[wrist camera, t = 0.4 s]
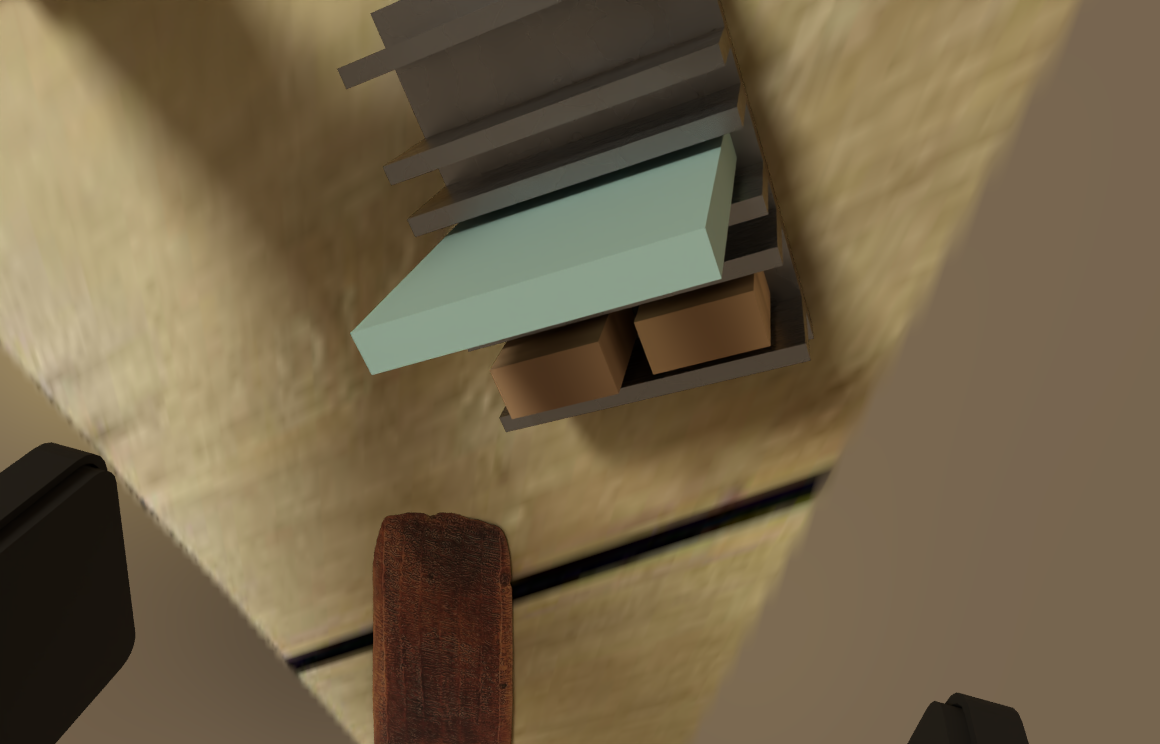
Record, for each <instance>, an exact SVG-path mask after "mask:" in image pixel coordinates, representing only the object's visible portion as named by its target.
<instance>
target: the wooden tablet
mask: <svg viewBox="0 0 1160 744" xmlns="http://www.w3.org/2000/svg"><path fill="white" fill-rule="evenodd" d="M510 581H511V569H510V556H509V549H508V545H507V542H506V538H505V535H504V533H503V532H502V530H501V529H500V528H499V527H497V526H494V525H490V524H487V523H485V522H482V521H480V520H473V519H468V518H466V517H463V516H461V515H458V514H454V513H437V514H436V515H432V516H429V515H426V514H424V513H404V514H400V515H391V516H387V517H385V519H384V520H383V522H382V525H381V528H380V531H379V536H378V538H377V543H376V547H375V552H374V561H373V622H374V624H373V631H374V632H373V718H374V743H375V744H511V729H512V708H513V698H512V674H513V636H512V587H511V585H510Z"/></svg>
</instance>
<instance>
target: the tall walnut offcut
mask: <svg viewBox="0 0 1160 744" xmlns="http://www.w3.org/2000/svg"><path fill="white" fill-rule="evenodd" d="M634 321H635V316H634V313H633V310H632V308H631V307H630V308H626V309H623V310H619V311H615V312H612V313H608V314H604V315H601V316H597V317H593V318H590V319H586V320H583V321H579V322H575V323H572V324H568V325H564V326H561V327H557V328H553V329H550V330H546V331H542V332H539V333H535V334H531V335H528V336H524V337H521V338H517V339H513V340H510V341H507V342H506V344H505V345H504V347H503V349H502V350H501V352H500V354H499V355H498V357H497V359H496V360H495V362H494V364H493V365H492V367H491V369H490V372H491V375H492V377H493V379H494V381H495V383H496V386H497V388H498V390H499V392H500V394H501V396H502V399H503V401H504V403H505V405H506V407H507V410H508V412H509V414H510V416H511V418H512V419H515V418H520V417H524V416H528V415H532V414H536V413H540V412H544V411H549V410H553V409H557V408H561V407H565V406H569V405H574V404H578V403H582V402H586V401H590V400H594V399H599V398H603V397H607V396H611V395H615V394H619V392H620V388H621V385H622V382H623V379H624V375H625V372H626V369H627V366H628V362H629V359H630V356H631V353H632V349H633V346H634V343H635V340H636V336H637V333H638V332H637V330H636V327H635V324H634Z"/></svg>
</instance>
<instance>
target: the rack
mask: <svg viewBox="0 0 1160 744" xmlns="http://www.w3.org/2000/svg"><path fill="white" fill-rule="evenodd" d="M370 14H371V16H372V18H373V20H374V23H375V25H376V27H377V29H378V32H379V34H380V36H381V39H382V41H383V43H384V45H385V48H386V49H383V50H381V51H379V52H376V53H374V54H372V55H369V56H367V57H364V58H362V59H360V60H357V61H355V62H353V63H350V64H348V65H345V66H343V67H341V68H338V69H337V70H338V72H339V74H340V76H341V78H342V80H343V83H344V85H345V87H346V89H348V88H351V87H353V86H356V85H358V84H361V83H363V82H366V81H368V80H370V79H373V78H375V77H378V76H380V75H383V74H385V73H388V72H390V71H392V70H396V73H397V75H398V77H399V80H400V82H401V84H402V86H403V89H404V91H405V93H406V95H407V98H408V100H409V102H410V105H411V107H412V109H413V111H414V114H415V116H416V118H417V121H418V123H419V125H420V127H421V130H422V132H423V134H424V136H425V139H424V140H422V141H421V142H419V143H418V144H416V145H415V146H413V147H412V148H410V149H409V150H407V151H406V152H404V153H403V154H401V155H400V156H398V157H397V158H395V159H394V160H392V161H391V162H389V163H388V164H386V165H385V166H383V169H384V171H385V173H386V175H387V177H388V179H389V182H390V184H391V185H394V184H397V183H400V182H402V181H405V180H408V179H411V178H413V177H416V176H419V175H422V174H425V173H427V172H430V171H433V170H436V169H439V171H440V173H441V175H442V177H443V180H444V182H445V184H446V186H445V187H444V188H443V189H442V190H441V191H440V192H438V193H437V194H436V195H435V196H434V197H433V198H431V199H430V200H429V201H428V202H427V203H426V204H424V205H423V206H422V207H421V208H420V209H419V210H417V211H416V212H415V213H414V214H413V215H412V216H410V217H409V218H408V219H407V220H408V222H409V225H410V227H411V229H412V231H413V233H414V235H415V237H417V236H420V235H423V234H426V233H429V232H432V231H435V230H438V229H441V228H444V227H447V226H450V225H453V224H456V223H459V222H462V221H465V220H468V219H471V218H474V217H477V216H480V215H483V214H486V213H489V212H492V211H495V210H498V209H501V208H504V207H507V206H510V205H513V204H516V203H519V202H522V201H526V200H529V199H532V198H535V197H538V196H541V195H544V194H547V193H550V192H553V191H556V190H559V189H562V188H565V187H568V186H571V185H574V184H577V183H580V182H583V181H586V180H589V179H592V178H595V177H598V176H601V175H604V174H607V173H610V172H613V171H616V170H619V169H622V168H625V167H628V166H631V165H634V164H637V163H640V162H643V161H646V160H649V159H652V158H655V157H658V156H661V155H664V154H667V153H670V152H673V151H676V150H679V149H682V148H685V147H688V146H691V145H694V144H697V143H700V142H703V141H706V140H710V139H713V138H716V137H719V136H722V135H725V134H728V133H730V136H731V139H732V143H733V146H734V149H735V153H736V156H737V161H736V169H735V177H734V185H733V193H732V200H731V208H730V216H729V224H728V232H727V240H726V248H725V256H724V264H723V271H722V279H719V280H715V281H712V282H708V283H704V284H701V285H697V286H694V287H690V288H686V289H683V290H679V291H675V292H672V293H668V294H665V295H661V296H657V297H654V298H650V299H646V300H643V301H639V302H636V303H632V304H628V305H625V306H621V307H617V308H614V309H610V310H607V311H603V312H599V313H596V314H592V315H588V316H585V317H581V318H577V319H574V320H570V321H567V322H563V323H559V324H556V325H552V326H548V327H545V328H541V329H538V330H534V331H530V332H527V333H523V334H519V335H516V336H512V337H509V338H505V339H501V340H498V341H494V342H490V343H487V344H483V345H480V346H476V347H472V348H469V349H468V351H473V350H477V349H480V348H484V347H488V346H491V345H495V344H499V343H502V342H506V341H510V340H513V339H517V338H521V337H524V336H528V335H531V334H535V333H539V332H542V331H546V330H550V329H553V328H557V327H561V326H564V325H568V324H572V323H575V322H579V321H583V320H586V319H590V318H593V317H597V316H601V315H604V314H608V313H612V312H615V311H619V310H623V309H626V308H630V307H631V308H632V310H633V313H634V316H635V318H636V315H637V312H638V308H639V305H641V304H645V303H648V302H652V301H655V300H659V299H663V298H666V297H670V296H674V295H677V294H681V293H685V292H688V291H692V290H696V289H699V288H703V287H706V286H710V285H714V284H717V283H721V282H725V281H728V280H732V279H736V278H739V277H743V276H747V275H750V274H754V273H758V272H761V271H764V274H765V277H766V281H767V284H768V287H769V291H770V329H771V346H768V347H764V348H760V349H756V350H752V351H748V352H744V353H740V354H736V355H732V356H727V357H723V358H719V359H715V360H711V361H707V362H703V363H699V364H695V365H691V366H687V367H682V368H678V369H674V370H670V371H666V372H662V373H658V374H654V375H653V372H652V370H651V367H650V364H649V362H648V359H647V356H646V354H645V351H644V348H643V346H642V343H641V340H640V338H639V335H638V333H637V336H636V340H635V343H634V346H633V349H632V353H631V356H630V359H629V362H628V366H627V369H626V372H625V375H624V379H623V382H622V385H621V388H620V392H619V394H615V395H611V396H607V397H603V398H599V399H594V400H590V401H586V402H582V403H578V404H574V405H569V406H565V407H561V408H557V409H553V410H549V411H544V412H540V413H536V414H532V415H528V416H524V417H520V418H515V419H512V418H511V416H510V414H509V412H508V410H507V407H506V406H505V408H504V410H503V412H502V414H501V415H500V417H499V418H500V420H501V422H502V425H503V427H504V429H505V431H506V432H509V431H513V430H517V429H522V428H526V427H530V426H534V425H539V424H543V423H547V422H551V421H556V420H560V419H564V418H568V417H573V416H577V415H581V414H585V413H590V412H594V411H598V410H602V409H607V408H611V407H615V406H619V405H623V404H628V403H632V402H636V401H640V400H645V399H649V398H653V397H657V396H662V395H666V394H670V393H674V392H679V391H683V390H687V389H691V388H696V387H700V386H704V385H708V384H713V383H717V382H721V381H725V380H730V379H734V378H738V377H742V376H747V375H751V374H755V373H759V372H764V371H768V370H772V369H776V368H780V367H785V366H789V365H793V364H797V363H802V362H806V361H810V349H809V340H810V339H814V336H813V327H812V322H811V319H810V315H809V312H808V308H807V305H806V301H805V298H804V294H803V291H802V287H801V283H800V280H799V276H798V273H797V269H796V266H795V262H794V259H793V255H792V252H791V248H790V245H789V241H788V238H787V234H786V231H785V227H784V224H783V220H782V217H781V213H780V210H779V206H778V203H777V199H776V196H775V192H774V189H773V185H772V181H771V178H770V174H769V171H768V167H767V164H766V160H765V157H764V153H763V150H762V146H761V143H760V139H759V136H758V132H757V129H756V125H755V122H754V118H753V115H752V111H751V108H750V104H749V101H748V97H747V94H746V90H745V87H744V83H743V79H742V76H741V72H740V69H739V65H738V62H737V58H736V55H735V51H734V48H733V44H732V41H731V37H730V34H729V30H728V27H727V23H726V20H725V16H724V13H723V9H722V6H721V2H720V0H400V1H398V2H395V3H393V4H391V5H389V6H386V7H384V8H382V9H380V10H377V11H375V12H373V13H370Z"/></svg>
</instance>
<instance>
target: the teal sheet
mask: <svg viewBox="0 0 1160 744" xmlns="http://www.w3.org/2000/svg"><path fill="white" fill-rule="evenodd" d="M736 161H737V156H736V153H735V149H734V146H733V143H732V139H731V136H730V133H728V134H725V135H722V136H719V137H716V138H713V139H710V140H706V141H703V142H700V143H697V144H694V145H691V146H688V147H685V148H682V149H679V150H676V151H673V152H670V153H667V154H664V155H661V156H658V157H655V158H652V159H649V160H646V161H643V162H640V163H637V164H634V165H631V166H628V167H625V168H622V169H619V170H616V171H613V172H610V173H607V174H604V175H601V176H598V177H595V178H592V179H589V180H586V181H583V182H580V183H577V184H574V185H571V186H568V187H565V188H562V189H559V190H556V191H553V192H550V193H547V194H544V195H541V196H538V197H535V198H532V199H529V200H526V201H522V202H519V203H516V204H513V205H510V206H507V207H504V208H501V209H498V210H495V211H492V212H489V213H486V214H483V215H480V216H477V217H474V218H471V219H468V220H465V221H462V222H459V223H458V224H457V225H456V226H455V227H454V228H453V230H452V231H451V232H450V233H449V234H448V235H447V236H446V237H445V238H444V239H443V240H442V241H441V242H440V243H439V244H438V245H437V246H436V247H435V248H434V249H433V250H432V251H431V252H430V253H429V254H428V255H427V256H426V257H425V258H424V259H423V260H422V261H421V262H420V263H419V264H418V265H417V266H416V267H415V268H414V269H413V270H412V271H411V272H410V273H409V274H408V275H407V276H406V277H405V278H404V279H403V280H402V281H401V282H400V283H399V284H398V285H397V286H396V287H395V288H394V289H393V290H392V291H391V292H390V293H389V294H388V295H387V296H386V297H385V298H384V299H383V300H382V301H381V302H380V303H379V304H378V305H377V306H376V307H375V308H374V309H373V311H372V312H371V313H370V314H369V315H368V316H367V317H366V318H365V319H364V320H363V321H362V322H361V323H360V324H359V325H358V326H357V327H356V328H355V329H354V330H353V331H352V332H351V333H350V334H351V336H352V338H353V340H354V342H355V344H356V346H357V348H358V350H359V352H360V353H361V355H362V357H363V359H364V361H365V363H366V365H367V367H368V369H369V371H370V373H371V375H374V374H378V373H382V372H385V371H389V370H392V369H396V368H400V367H403V366H407V365H411V364H414V363H418V362H421V361H425V360H429V359H432V358H436V357H440V356H443V355H447V354H451V353H454V352H458V351H461V350H465V349H469V348H472V347H476V346H480V345H483V344H487V343H490V342H494V341H498V340H501V339H505V338H509V337H512V336H516V335H519V334H523V333H527V332H530V331H534V330H538V329H541V328H545V327H548V326H552V325H556V324H559V323H563V322H567V321H570V320H574V319H577V318H581V317H585V316H588V315H592V314H596V313H599V312H603V311H607V310H610V309H614V308H617V307H621V306H625V305H628V304H632V303H636V302H639V301H643V300H646V299H650V298H654V297H657V296H661V295H665V294H668V293H672V292H675V291H679V290H683V289H686V288H690V287H694V286H697V285H701V284H704V283H708V282H712V281H715V280H719V279H722V271H723V264H724V256H725V248H726V240H727V232H728V224H729V216H730V208H731V200H732V193H733V185H734V177H735V169H736Z"/></svg>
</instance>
